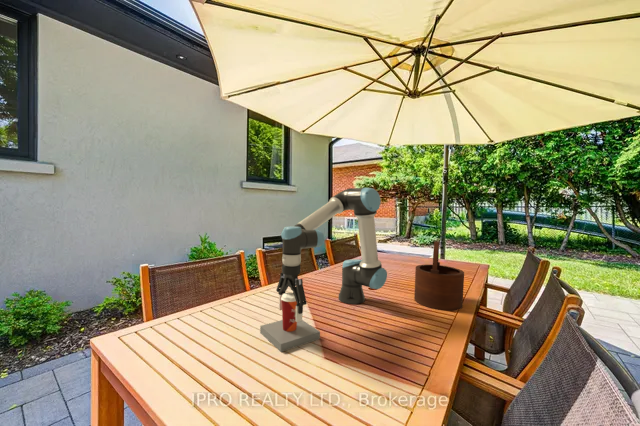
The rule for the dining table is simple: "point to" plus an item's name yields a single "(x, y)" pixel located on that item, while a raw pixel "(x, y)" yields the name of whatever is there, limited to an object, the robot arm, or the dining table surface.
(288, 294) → the paper cup
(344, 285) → the robot arm
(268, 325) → the slate tile
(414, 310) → the dining table surface
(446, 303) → the wooden bucket
